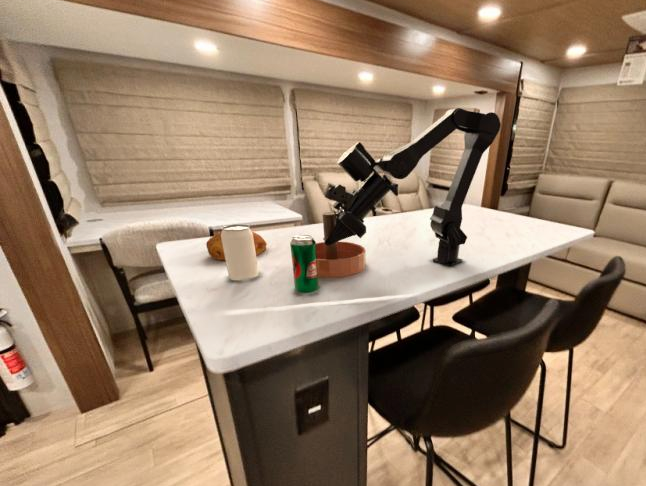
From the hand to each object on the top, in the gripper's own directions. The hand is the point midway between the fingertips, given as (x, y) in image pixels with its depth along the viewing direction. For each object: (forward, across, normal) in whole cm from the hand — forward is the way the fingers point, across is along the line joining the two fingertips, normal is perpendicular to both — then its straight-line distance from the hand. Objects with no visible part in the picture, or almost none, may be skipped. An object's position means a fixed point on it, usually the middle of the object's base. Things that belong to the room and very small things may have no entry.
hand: (325, 242), depth 76 cm
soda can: (+9, +11, +2) cm, 14 cm away
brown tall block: (+3, 0, +5) cm, 6 cm away
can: (+19, 0, -8) cm, 21 cm away
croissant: (+22, -19, -11) cm, 31 cm away
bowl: (+4, -2, +7) cm, 8 cm away
